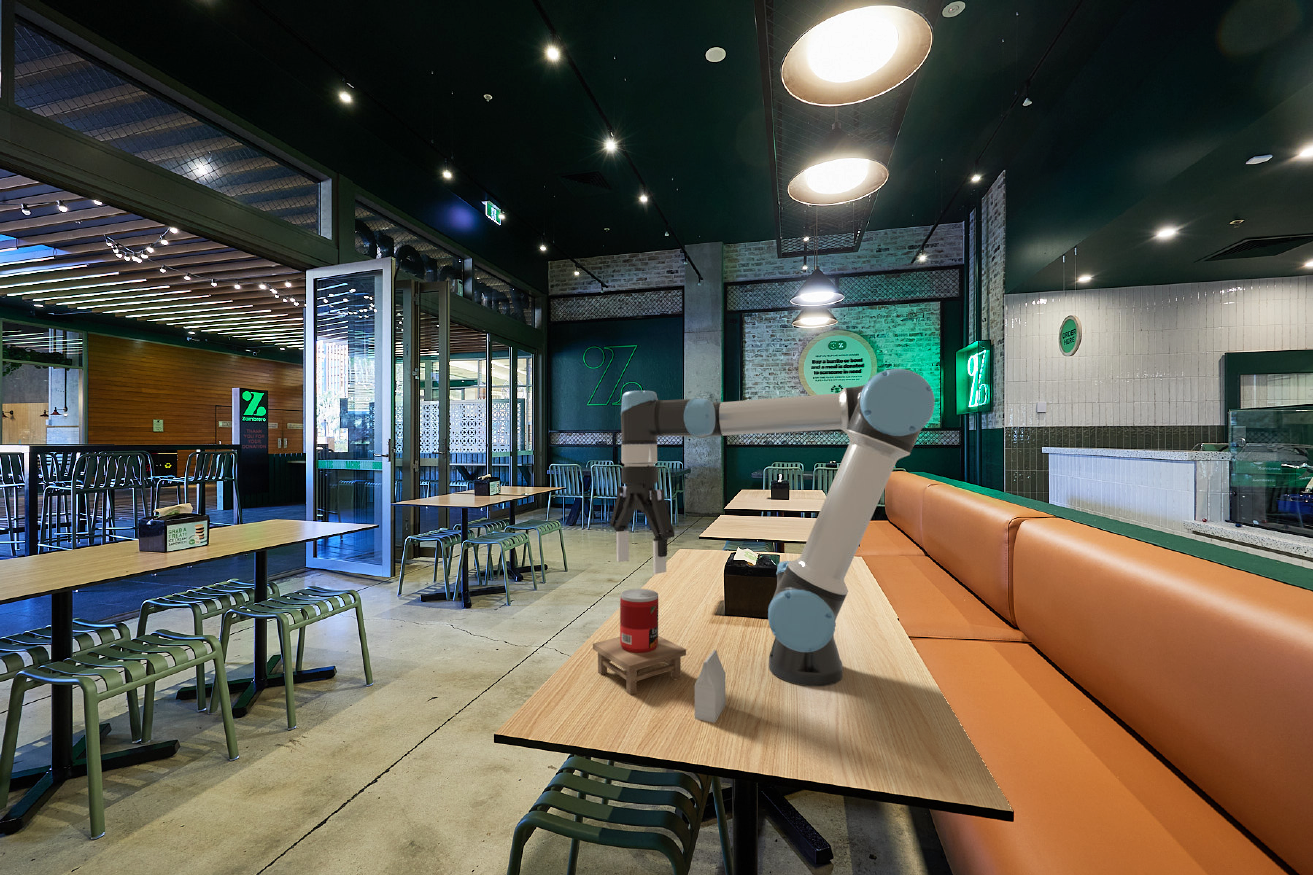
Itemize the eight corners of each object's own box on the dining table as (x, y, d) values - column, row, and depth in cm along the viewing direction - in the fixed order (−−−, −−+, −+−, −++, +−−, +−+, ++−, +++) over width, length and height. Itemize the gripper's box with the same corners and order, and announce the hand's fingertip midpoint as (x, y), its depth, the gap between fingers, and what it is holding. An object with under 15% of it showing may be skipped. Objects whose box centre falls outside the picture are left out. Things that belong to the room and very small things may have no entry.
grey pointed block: (725, 705, 98) (725, 651, 98) (714, 723, 92) (714, 664, 92) (706, 701, 99) (706, 648, 99) (694, 718, 93) (694, 661, 93)
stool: (686, 678, 109) (686, 649, 109) (629, 697, 100) (629, 665, 101) (646, 656, 120) (646, 629, 120) (592, 671, 112) (592, 643, 112)
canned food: (657, 653, 106) (658, 599, 107) (618, 653, 107) (618, 598, 107) (658, 639, 114) (658, 588, 114) (621, 639, 114) (621, 588, 114)
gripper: (691, 465, 103) (692, 575, 103) (622, 463, 123) (623, 554, 123) (660, 467, 99) (661, 581, 98) (594, 464, 119) (594, 558, 118)
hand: (640, 566), depth 110 cm, fingers open, 13 cm apart
